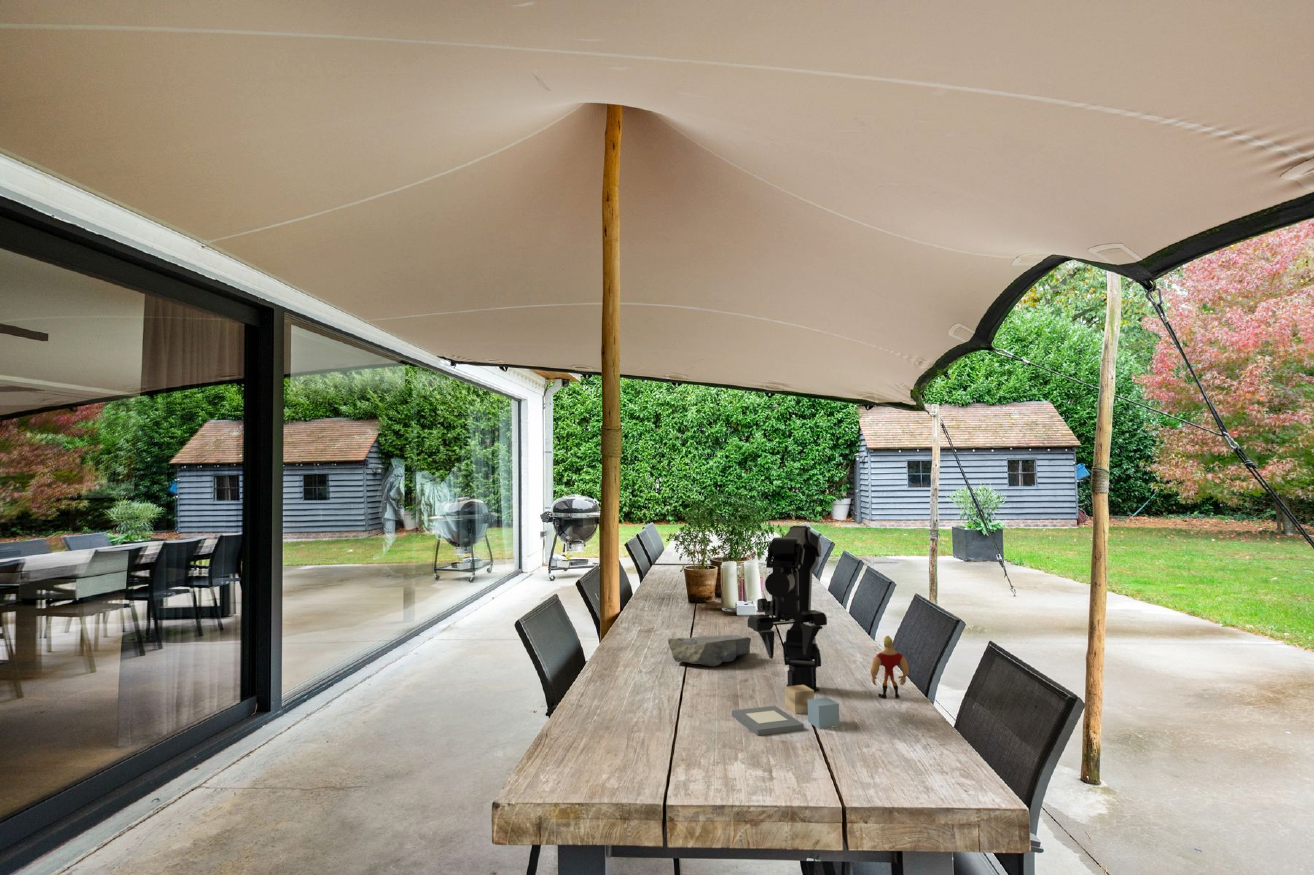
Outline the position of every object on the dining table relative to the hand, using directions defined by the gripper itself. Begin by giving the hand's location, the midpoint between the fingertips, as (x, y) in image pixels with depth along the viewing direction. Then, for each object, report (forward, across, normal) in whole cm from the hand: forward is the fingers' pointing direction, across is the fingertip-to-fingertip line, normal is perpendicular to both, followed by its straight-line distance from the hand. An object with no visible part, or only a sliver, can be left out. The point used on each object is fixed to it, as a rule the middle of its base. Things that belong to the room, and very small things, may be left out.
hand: (788, 656), depth 176 cm
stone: (+13, -2, -52) cm, 53 cm away
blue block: (+12, -2, +13) cm, 18 cm away
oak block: (+12, -2, +2) cm, 13 cm away
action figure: (+12, -28, +1) cm, 30 cm away
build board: (+12, +10, +7) cm, 17 cm away
